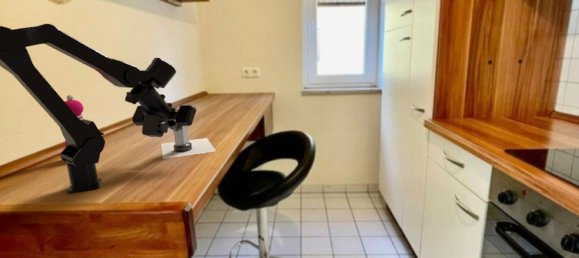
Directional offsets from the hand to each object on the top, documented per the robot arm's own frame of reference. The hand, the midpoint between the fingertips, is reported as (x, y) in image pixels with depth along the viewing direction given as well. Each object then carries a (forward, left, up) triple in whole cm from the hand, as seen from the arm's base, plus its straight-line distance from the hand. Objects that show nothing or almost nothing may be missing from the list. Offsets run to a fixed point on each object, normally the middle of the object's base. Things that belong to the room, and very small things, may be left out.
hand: (177, 130), depth 105 cm
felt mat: (+4, -3, -7) cm, 9 cm away
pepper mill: (+10, +29, -8) cm, 32 cm away
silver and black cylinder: (+2, -1, -7) cm, 7 cm away
